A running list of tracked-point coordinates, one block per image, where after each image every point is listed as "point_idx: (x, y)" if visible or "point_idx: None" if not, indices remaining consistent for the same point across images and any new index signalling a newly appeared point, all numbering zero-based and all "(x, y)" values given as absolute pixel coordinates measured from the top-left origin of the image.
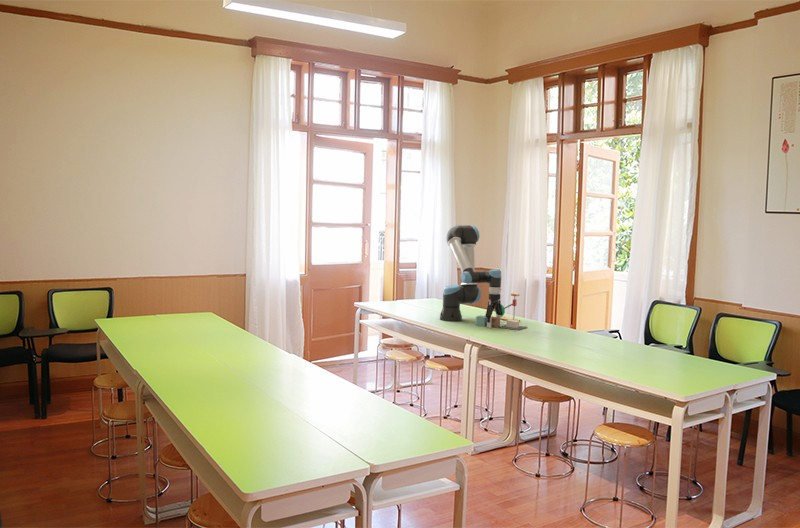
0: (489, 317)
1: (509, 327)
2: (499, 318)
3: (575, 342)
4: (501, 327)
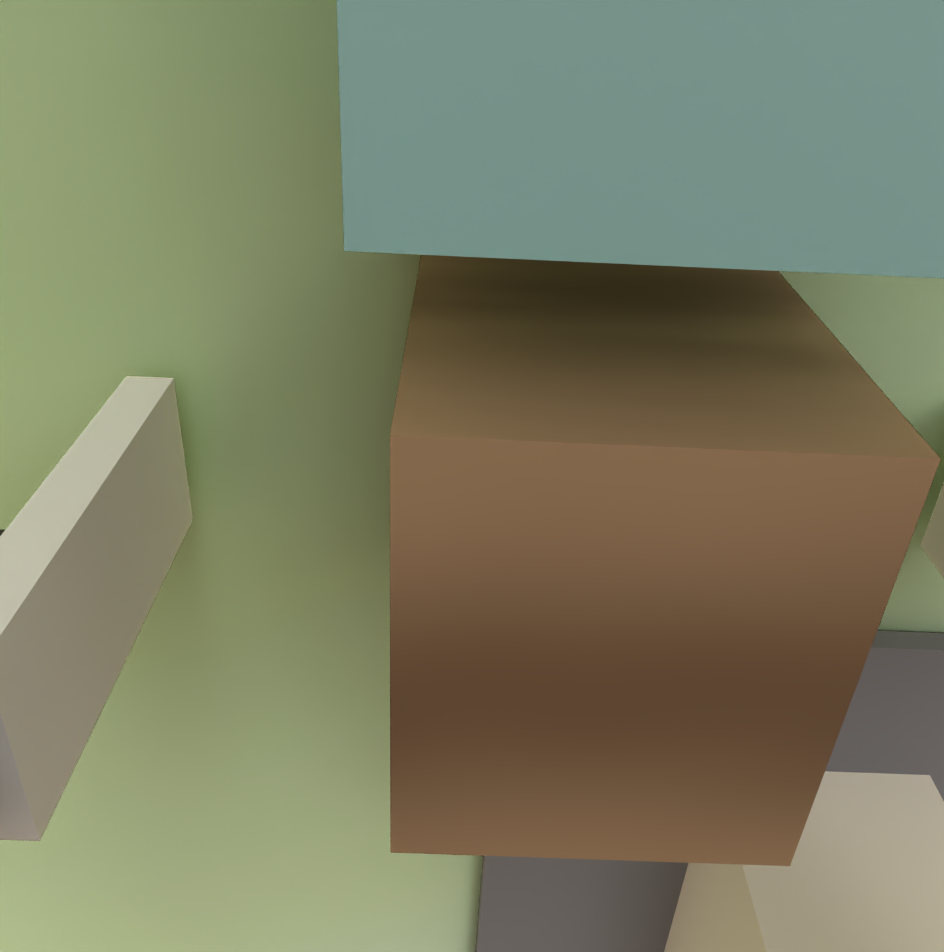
0: None
1: None
2: (728, 844)
3: None
4: None
